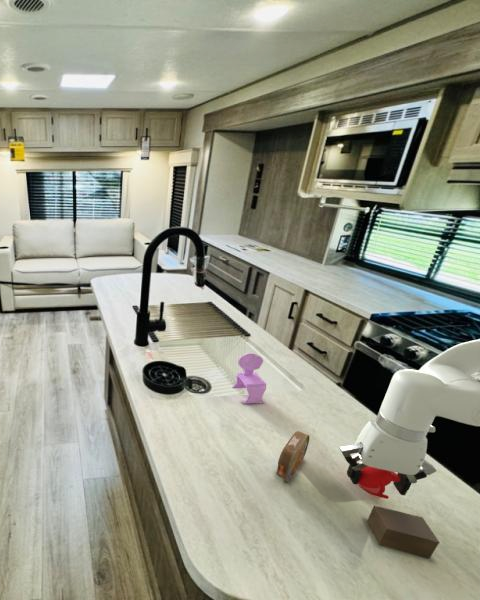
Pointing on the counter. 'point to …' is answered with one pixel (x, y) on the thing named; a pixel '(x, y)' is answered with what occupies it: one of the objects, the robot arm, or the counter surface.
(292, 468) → the tin
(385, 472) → the cap
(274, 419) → the counter surface
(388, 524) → the stop block
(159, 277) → the counter surface
